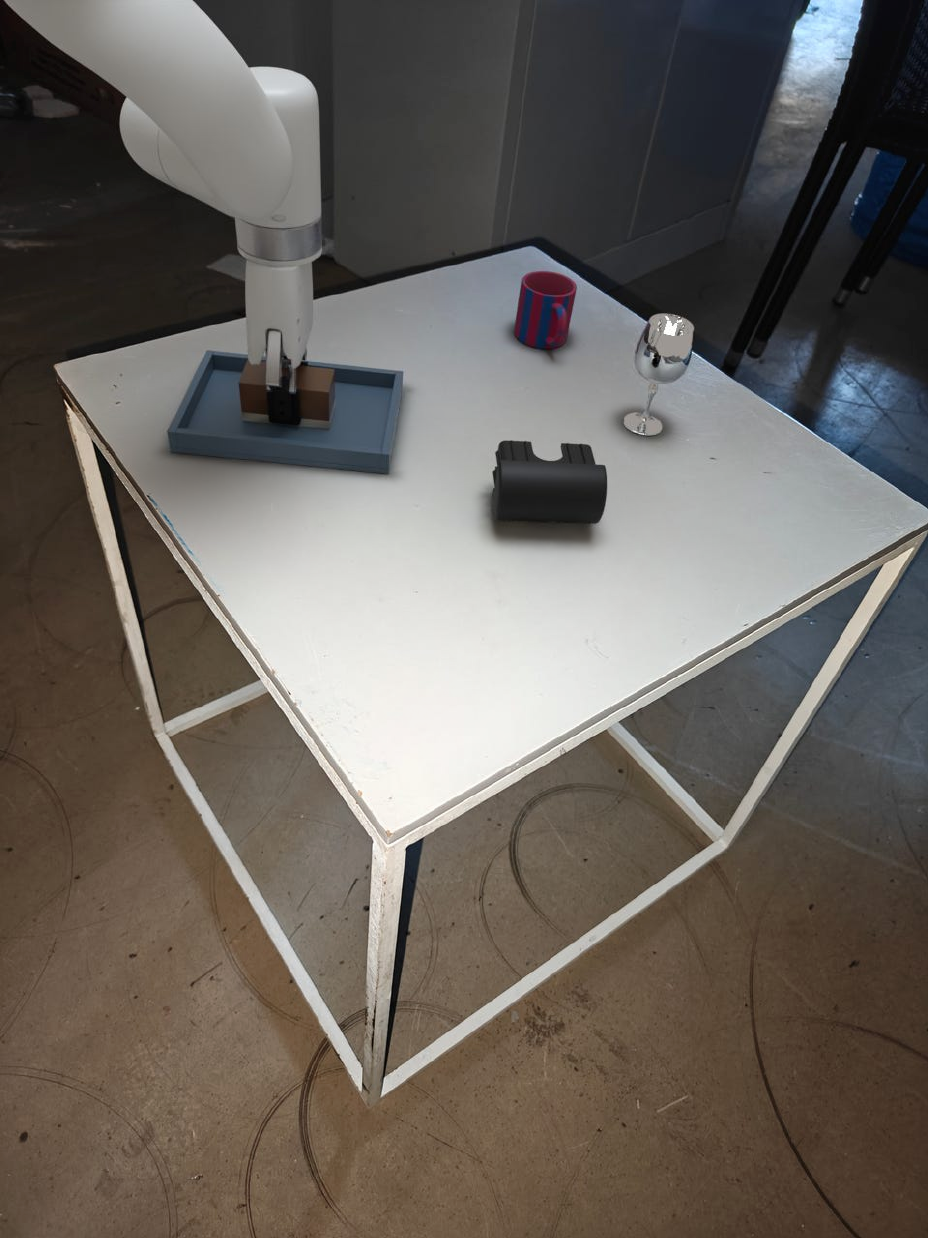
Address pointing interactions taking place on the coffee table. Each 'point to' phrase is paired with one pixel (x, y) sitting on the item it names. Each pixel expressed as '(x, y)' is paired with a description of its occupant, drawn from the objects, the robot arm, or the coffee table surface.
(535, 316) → the mug
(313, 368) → the eraser
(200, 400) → the tray
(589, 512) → the end cap
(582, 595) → the coffee table surface
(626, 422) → the wineglass
